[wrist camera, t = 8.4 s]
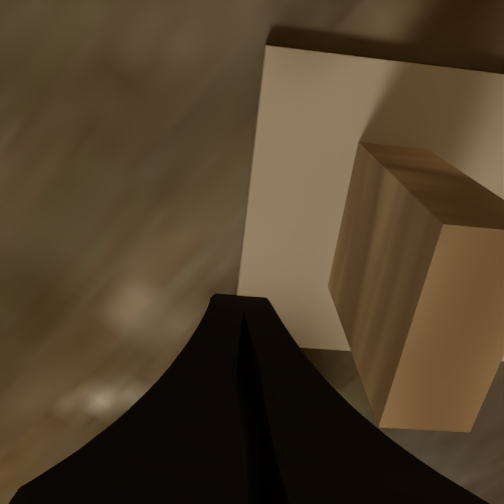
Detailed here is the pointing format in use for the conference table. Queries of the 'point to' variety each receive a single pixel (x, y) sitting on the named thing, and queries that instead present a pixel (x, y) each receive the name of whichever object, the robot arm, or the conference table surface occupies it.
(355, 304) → the wooden block
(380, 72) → the mat
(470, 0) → the conference table surface
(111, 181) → the conference table surface
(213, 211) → the conference table surface
